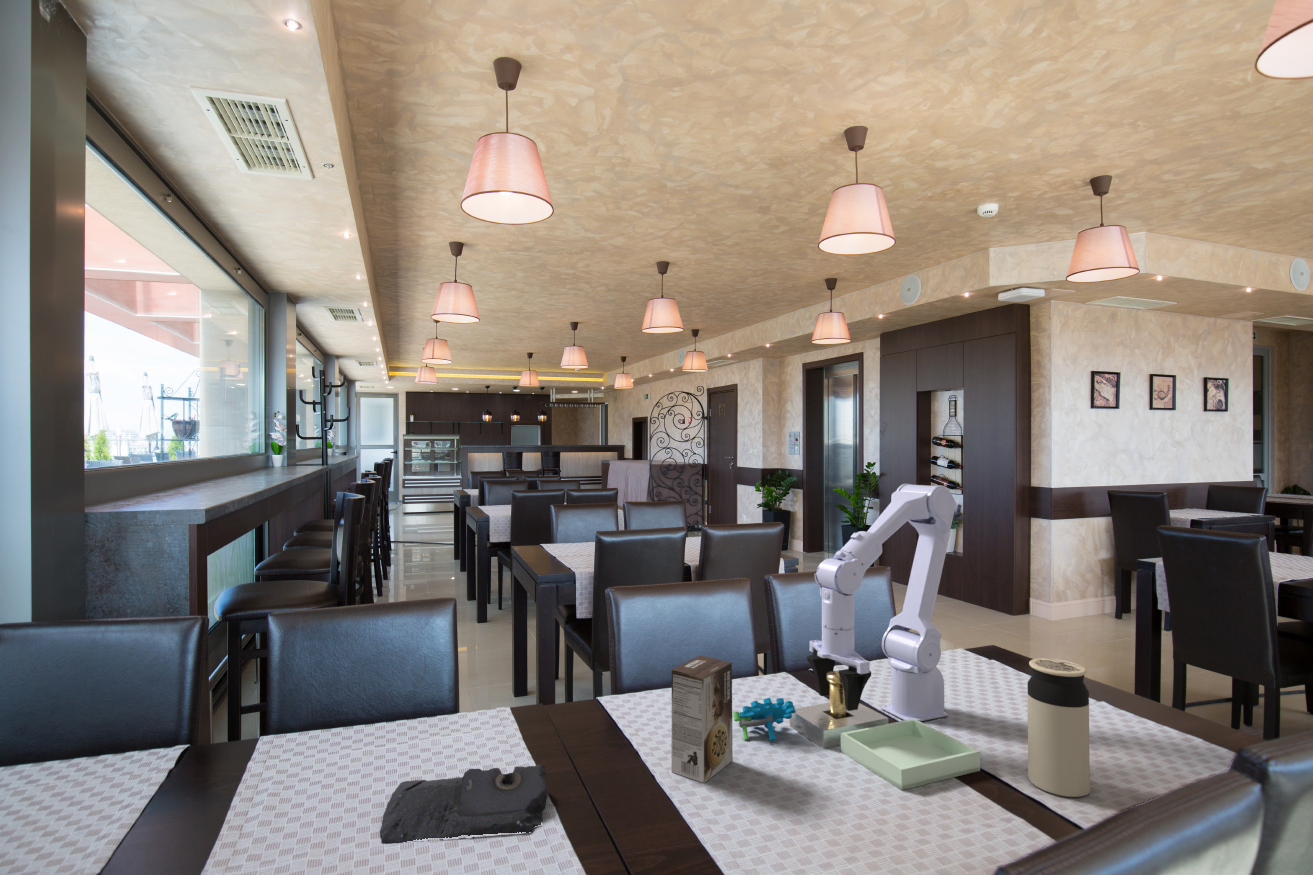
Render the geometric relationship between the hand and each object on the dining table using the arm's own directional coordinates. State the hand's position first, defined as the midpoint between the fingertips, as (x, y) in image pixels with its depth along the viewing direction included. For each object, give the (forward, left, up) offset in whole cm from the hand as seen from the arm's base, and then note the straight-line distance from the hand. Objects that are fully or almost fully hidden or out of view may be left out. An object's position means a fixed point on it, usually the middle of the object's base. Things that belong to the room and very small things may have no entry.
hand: (838, 701), depth 120 cm
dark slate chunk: (+65, +1, -6) cm, 65 cm away
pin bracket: (0, 0, -5) cm, 5 cm away
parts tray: (-3, +14, -5) cm, 15 cm away
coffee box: (+29, +3, -5) cm, 30 cm away
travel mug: (-18, +29, -5) cm, 35 cm away
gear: (+13, -4, -5) cm, 15 cm away
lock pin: (0, 0, -5) cm, 5 cm away
